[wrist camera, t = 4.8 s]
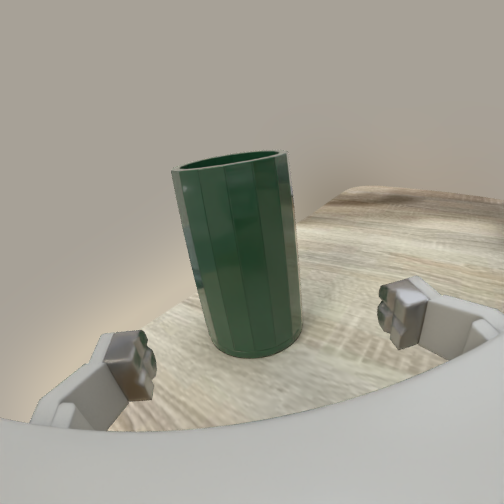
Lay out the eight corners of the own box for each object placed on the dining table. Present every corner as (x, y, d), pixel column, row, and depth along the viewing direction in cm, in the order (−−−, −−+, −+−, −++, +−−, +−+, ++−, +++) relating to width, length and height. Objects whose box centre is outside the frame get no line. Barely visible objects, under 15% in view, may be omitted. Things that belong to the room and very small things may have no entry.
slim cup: (242, 373, 17) (200, 172, 13) (195, 325, 23) (157, 169, 18) (322, 326, 21) (312, 150, 16) (266, 292, 26) (246, 150, 21)
